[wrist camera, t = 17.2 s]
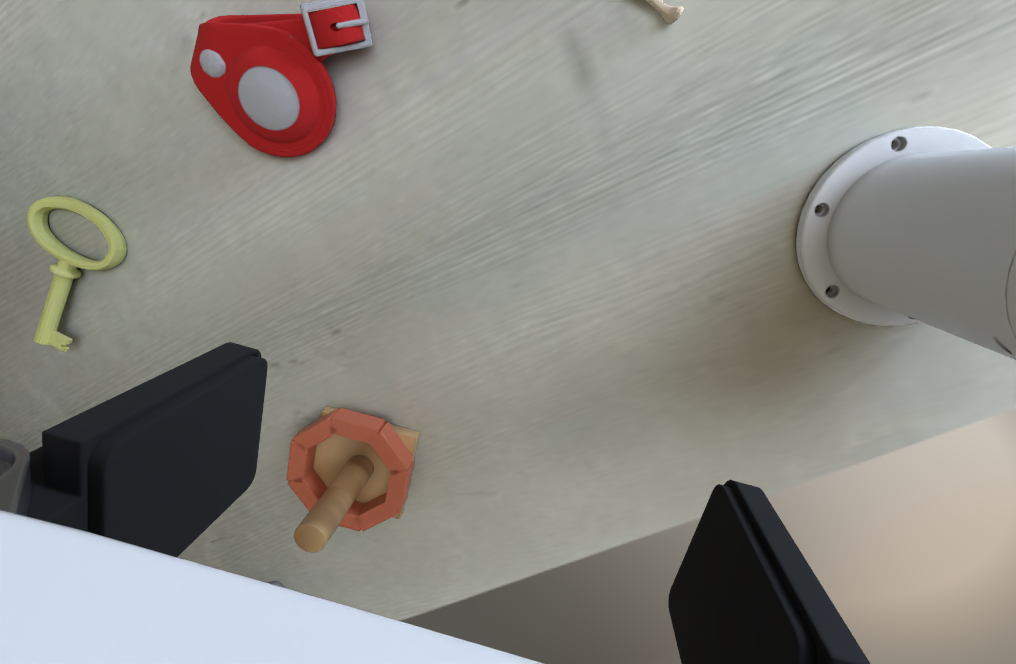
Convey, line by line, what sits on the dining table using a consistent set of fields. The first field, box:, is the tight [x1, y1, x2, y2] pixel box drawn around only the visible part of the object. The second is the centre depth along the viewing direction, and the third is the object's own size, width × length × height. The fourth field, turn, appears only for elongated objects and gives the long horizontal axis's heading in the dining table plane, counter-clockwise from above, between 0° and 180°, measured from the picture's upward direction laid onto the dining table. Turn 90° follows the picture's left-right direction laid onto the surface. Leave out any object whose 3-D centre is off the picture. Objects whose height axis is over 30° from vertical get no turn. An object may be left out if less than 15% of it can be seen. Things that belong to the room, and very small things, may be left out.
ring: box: [287, 408, 414, 531], centre depth 42 cm, size 10×10×2 cm
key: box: [27, 196, 127, 352], centre depth 41 cm, size 7×12×2 cm, turn 171°
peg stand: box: [294, 407, 420, 552], centre depth 39 cm, size 8×8×10 cm
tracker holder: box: [190, 0, 373, 157], centre depth 34 cm, size 12×4×10 cm
